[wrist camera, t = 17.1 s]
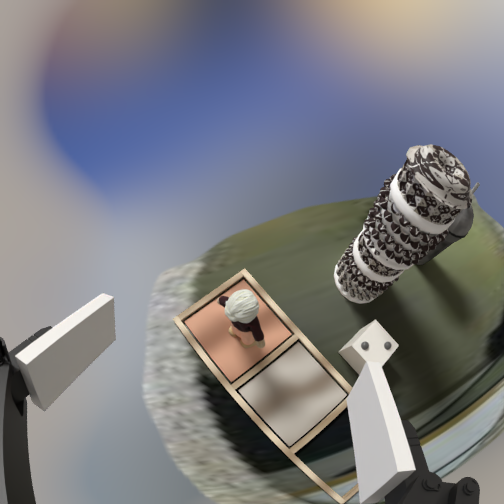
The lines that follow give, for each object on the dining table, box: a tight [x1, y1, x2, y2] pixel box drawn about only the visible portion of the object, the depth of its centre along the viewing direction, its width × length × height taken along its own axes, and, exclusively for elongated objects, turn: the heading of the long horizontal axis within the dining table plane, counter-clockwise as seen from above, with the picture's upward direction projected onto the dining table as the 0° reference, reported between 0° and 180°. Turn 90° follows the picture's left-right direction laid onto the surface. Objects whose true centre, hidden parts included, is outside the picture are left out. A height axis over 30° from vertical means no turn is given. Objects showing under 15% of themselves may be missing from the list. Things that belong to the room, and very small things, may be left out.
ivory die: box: [338, 320, 399, 375], centre depth 34 cm, size 5×5×6 cm
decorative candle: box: [334, 145, 472, 304], centre depth 31 cm, size 9×9×25 cm
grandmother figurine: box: [217, 289, 265, 348], centre depth 31 cm, size 8×4×13 cm, turn 54°
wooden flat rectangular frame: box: [173, 269, 359, 504], centre depth 33 cm, size 36×13×1 cm, turn 39°
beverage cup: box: [417, 183, 480, 265], centre depth 36 cm, size 7×7×20 cm
